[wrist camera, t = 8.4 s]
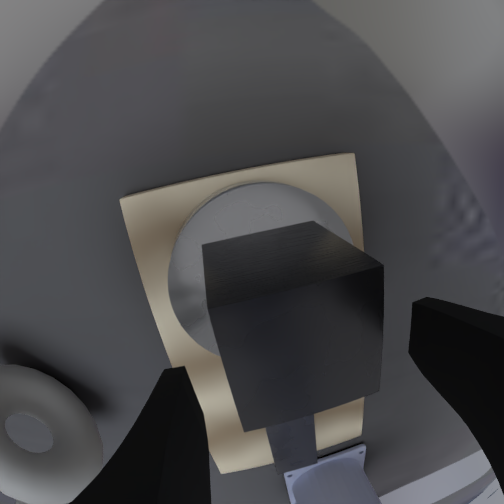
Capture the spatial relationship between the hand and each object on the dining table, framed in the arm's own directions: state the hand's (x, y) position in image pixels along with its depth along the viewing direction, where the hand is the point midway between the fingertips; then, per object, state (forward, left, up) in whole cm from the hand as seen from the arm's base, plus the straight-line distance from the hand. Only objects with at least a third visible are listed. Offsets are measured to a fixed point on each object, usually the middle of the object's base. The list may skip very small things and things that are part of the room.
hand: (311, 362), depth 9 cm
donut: (-6, +16, -10) cm, 19 cm away
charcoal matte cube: (0, 0, -6) cm, 6 cm away
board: (-6, 0, -9) cm, 11 cm away
